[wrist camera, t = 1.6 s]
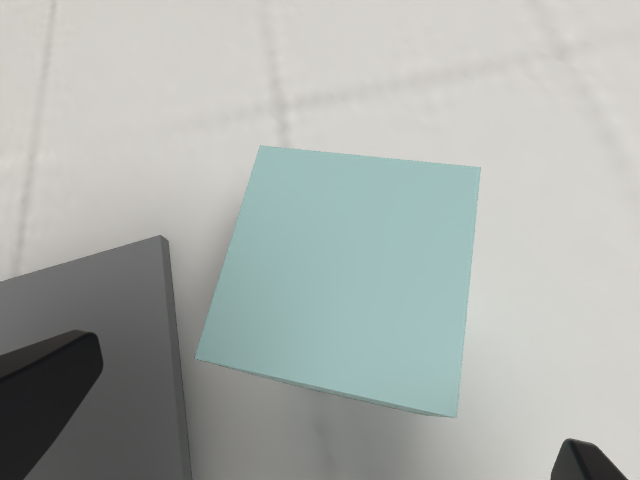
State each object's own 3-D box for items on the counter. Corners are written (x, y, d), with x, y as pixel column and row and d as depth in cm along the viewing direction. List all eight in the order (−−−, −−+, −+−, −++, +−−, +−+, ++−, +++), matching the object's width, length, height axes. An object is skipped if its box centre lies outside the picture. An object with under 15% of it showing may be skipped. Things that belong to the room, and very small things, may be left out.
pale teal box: (424, 415, 17) (456, 417, 9) (282, 382, 18) (194, 358, 10) (441, 273, 19) (480, 167, 11) (313, 253, 20) (259, 145, 12)
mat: (207, 631, 15) (197, 642, 15) (-118, 709, 16) (-143, 723, 15) (168, 240, 22) (160, 234, 21) (-63, 308, 22) (-79, 304, 22)
